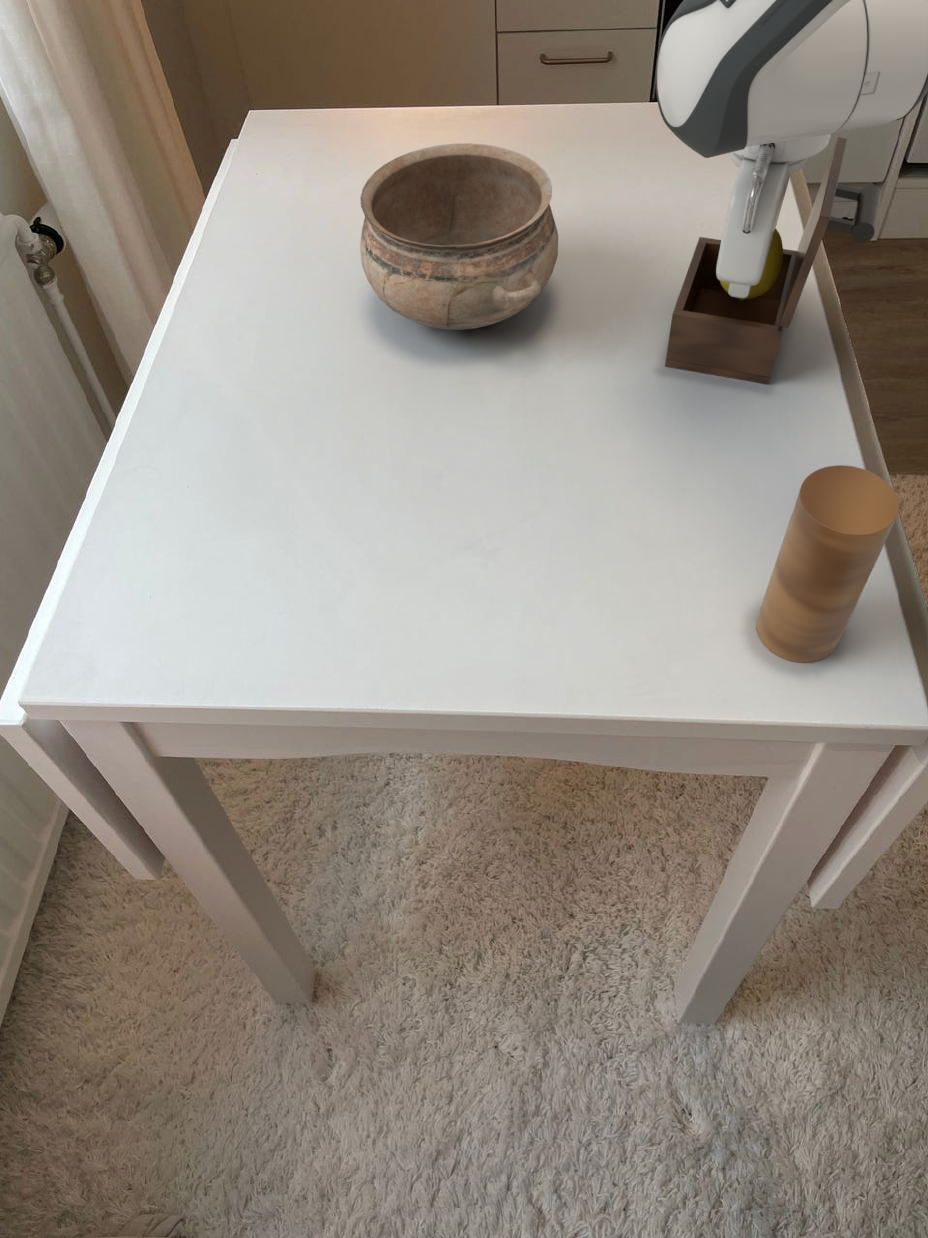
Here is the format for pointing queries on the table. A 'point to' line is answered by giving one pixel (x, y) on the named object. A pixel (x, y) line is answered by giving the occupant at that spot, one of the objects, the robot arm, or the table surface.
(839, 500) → the stand
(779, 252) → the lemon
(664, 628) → the table surface
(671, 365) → the chest
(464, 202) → the cooking pot
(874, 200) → the lid
